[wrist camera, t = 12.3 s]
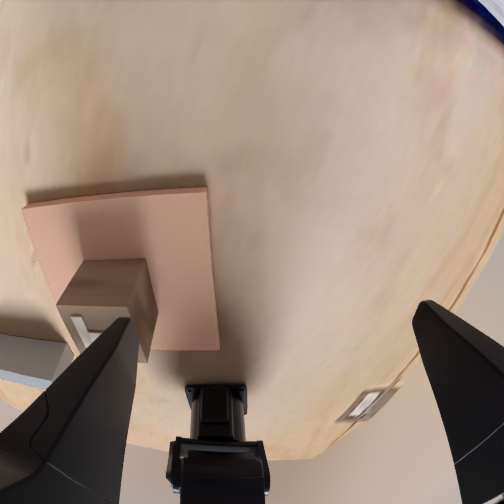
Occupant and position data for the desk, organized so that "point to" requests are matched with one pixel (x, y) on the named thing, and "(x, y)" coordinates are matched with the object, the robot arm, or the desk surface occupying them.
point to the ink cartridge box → (495, 8)
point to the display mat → (138, 252)
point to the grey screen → (32, 360)
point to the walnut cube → (109, 301)
